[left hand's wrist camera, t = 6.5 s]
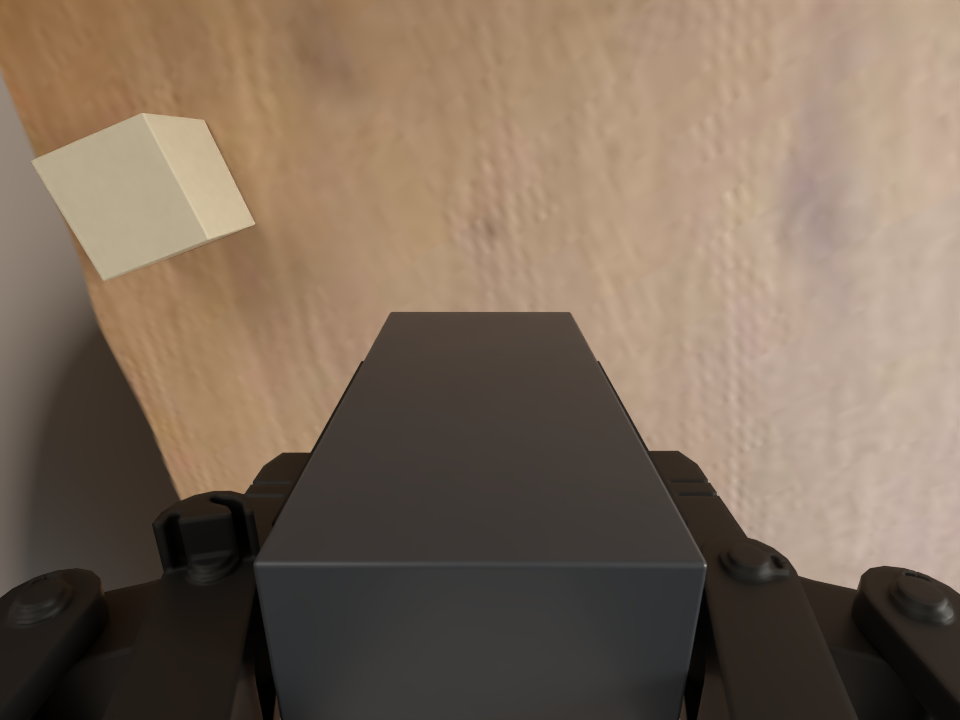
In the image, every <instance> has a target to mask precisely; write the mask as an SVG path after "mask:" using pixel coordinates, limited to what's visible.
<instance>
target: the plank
mask: <svg viewBox="0 0 960 720" xmlns="http://www.w3.org/2000/svg"><path fill="white" fill-rule="evenodd" d="M253 566H254V573H255V578H256V584H257V590H258V595H259V601H260V606H261V612H262V618H263V623H264V629H265V634H266V640H267V646H268V651H269V657H270V662H271V668H272V674H273V679H274V685H275V691H276V696H277V702H278V707H279V713H280V719H281V720H679V719H680V714H681V708H682V703H683V697H684V692H685V686H686V681H687V675H688V670H689V664H690V659H691V653H692V648H693V642H694V637H695V631H696V626H697V620H698V615H699V609H700V603H701V598H702V592H703V587H704V581H705V576H706V570H707V564H706V561H705V559H704V557H703V555H702V554H701V552H700V550H699V548H698V546H697V544H696V543H695V541H694V539H693V537H692V535H691V533H690V531H689V530H688V528H687V526H686V524H685V522H684V520H683V519H682V517H681V515H680V513H679V511H678V509H677V508H676V506H675V504H674V502H673V500H672V498H671V496H670V495H669V493H668V491H667V489H666V487H665V485H664V484H663V482H662V480H661V478H660V476H659V474H658V473H657V471H656V469H655V467H654V465H653V463H652V462H651V460H650V458H649V456H648V454H647V452H646V450H645V449H644V447H643V445H642V443H641V441H640V439H639V438H638V436H637V434H636V432H635V430H634V428H633V427H632V425H631V423H630V421H629V419H628V417H627V415H626V414H625V412H624V410H623V408H622V406H621V404H620V403H619V401H618V399H617V397H616V395H615V393H614V392H613V390H612V388H611V386H610V384H609V382H608V380H607V379H606V377H605V375H604V373H603V371H602V369H601V368H600V366H599V364H598V362H597V360H596V358H595V357H594V355H593V353H592V351H591V349H590V347H589V346H588V344H587V342H586V340H585V338H584V336H583V334H582V333H581V331H580V329H579V327H578V325H577V323H576V322H575V320H574V318H573V316H572V314H571V313H570V312H391V313H390V314H389V316H388V318H387V320H386V322H385V324H384V325H383V327H382V329H381V331H380V333H379V335H378V336H377V338H376V340H375V342H374V344H373V346H372V347H371V349H370V351H369V353H368V355H367V356H366V358H365V360H364V362H363V364H362V366H361V367H360V369H359V371H358V373H357V375H356V377H355V378H354V380H353V382H352V384H351V386H350V387H349V389H348V391H347V393H346V395H345V397H344V398H343V400H342V402H341V404H340V406H339V408H338V409H337V411H336V413H335V415H334V417H333V419H332V420H331V422H330V424H329V426H328V428H327V429H326V431H325V433H324V435H323V437H322V439H321V440H320V442H319V444H318V446H317V448H316V450H315V451H314V453H313V455H312V457H311V459H310V461H309V462H308V464H307V466H306V468H305V470H304V471H303V473H302V475H301V477H300V479H299V481H298V482H297V484H296V486H295V488H294V490H293V492H292V493H291V495H290V497H289V499H288V501H287V503H286V504H285V506H284V508H283V510H282V512H281V513H280V515H279V517H278V519H277V521H276V523H275V524H274V526H273V528H272V530H271V532H270V534H269V535H268V537H267V539H266V541H265V543H264V544H263V546H262V548H261V550H260V552H259V554H258V555H257V557H256V559H255V561H254V564H253Z"/></svg>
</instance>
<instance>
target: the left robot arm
mask: <svg viewBox="0 0 960 720" xmlns="http://www.w3.org/2000/svg"><path fill="white" fill-rule="evenodd" d="M363 362H364V361H361V363H360V365H359V367H358V368H357V370H356V372H355V374H354V376H353V377H352V379H351V381H350V383H349V385H348V386H347V388H346V390H345V392H344V394H343V395H342V397H341V399H340V401H339V403H338V404H337V406H336V408H335V410H334V412H333V413H332V415H331V417H330V419H329V421H328V422H327V424H326V426H325V428H324V430H323V431H322V433H321V435H320V437H319V439H318V440H317V442H316V444H315V446H314V448H313V449H312V451H311V453H282V454H280V455H279V456H277V457H276V458H274V459H273V460H272V461H270V462H269V463H267V464H266V465H264V466H263V468H262V469H261V471H260V472H259V473H258V475H257V476H256V478H255V479H254V481H253V485H250V487H249V488H248V490H247V491H246V493H245V494H241V493H237V492H233V491H212V492H207V493H203V494H198V495H194V496H191V497H189V498H187V499H184V500H182V501H179V502H177V503H175V504H174V505H172V506H171V507H169V508H168V509H166V510H165V511H163V512H162V513H161V514H160V515H159V516H158V517H157V519H156V520H155V521H154V522H153V524H152V526H153V530H154V534H155V538H156V542H157V546H158V550H159V554H160V558H161V562H162V566H163V570H164V573H163V575H162V578H161V579H158V580H155V581H151V582H148V583H144V584H139V585H135V586H130V587H125V588H121V589H116V590H112V591H108V592H104V590H103V587H102V583H101V580H100V578H99V577H98V576H97V575H96V574H95V573H93V572H92V571H90V570H84V569H78V568H75V569H66V570H58V571H54V572H51V573H47V574H43V575H40V576H38V577H35V578H33V579H31V580H29V581H27V582H25V583H23V584H21V585H19V586H17V587H15V588H13V589H12V590H10V591H9V592H7V593H6V594H5V595H3V596H2V597H1V598H0V720H280V713H279V707H278V702H277V696H276V691H275V685H274V679H273V674H272V668H271V662H270V657H269V651H268V646H267V640H266V634H265V629H264V623H263V618H262V612H261V606H260V601H259V595H258V590H257V584H256V578H255V573H254V566H253V564H254V561H255V559H256V557H257V555H258V554H259V552H260V550H261V548H262V546H263V544H264V543H265V541H266V539H267V537H268V535H269V534H270V532H271V530H272V528H273V526H274V524H275V523H276V521H277V519H278V517H279V515H280V513H281V512H282V510H283V508H284V506H285V504H286V503H287V501H288V499H289V497H290V495H291V493H292V492H293V490H294V488H295V486H296V484H297V482H298V481H299V479H300V477H301V475H302V473H303V471H304V470H305V468H306V466H307V464H308V462H309V461H310V459H311V457H312V455H313V453H314V451H315V450H316V448H317V446H318V444H319V442H320V440H321V439H322V437H323V435H324V433H325V431H326V429H327V428H328V426H329V424H330V422H331V420H332V419H333V417H334V415H335V413H336V411H337V409H338V408H339V406H340V404H341V402H342V400H343V398H344V397H345V395H346V393H347V391H348V389H349V387H350V386H351V384H352V382H353V380H354V378H355V377H356V375H357V373H358V371H359V369H360V367H361V366H362V364H363ZM597 362H598V364H599V366H600V368H601V369H602V371H603V373H604V375H605V377H606V379H607V380H608V382H609V384H610V386H611V388H612V390H613V392H614V393H615V395H616V397H617V399H618V401H619V403H620V404H621V406H622V408H623V410H624V412H625V414H626V415H627V417H628V419H629V421H630V423H631V425H632V427H633V428H634V430H635V432H636V434H637V436H638V438H639V439H640V441H641V443H642V445H643V447H644V449H645V450H646V452H647V454H648V456H649V458H650V460H651V462H652V463H653V465H654V467H655V469H656V471H657V473H658V474H659V476H660V478H661V480H662V482H663V484H664V485H665V487H666V489H667V491H668V493H669V495H670V496H671V498H672V500H673V502H674V504H675V506H676V508H677V509H678V511H679V513H680V515H681V517H682V519H683V520H684V522H685V524H686V526H687V528H688V530H689V531H690V533H691V535H692V537H693V539H694V541H695V543H696V544H697V546H698V548H699V550H700V552H701V554H702V555H703V557H704V559H705V561H706V564H707V570H706V576H705V581H704V587H703V592H702V598H701V603H700V609H699V615H698V620H697V626H696V631H695V637H694V642H693V648H692V653H691V659H690V664H689V670H688V675H687V681H686V686H685V692H684V697H683V703H682V708H681V714H680V720H960V594H959V593H957V592H956V591H955V590H953V589H952V588H951V587H949V586H947V585H945V584H943V583H941V582H939V581H937V580H935V579H933V578H931V577H930V576H928V575H925V574H922V573H919V572H915V571H913V570H909V569H905V568H898V567H890V566H881V567H875V568H870V569H868V570H867V571H866V572H865V573H864V574H863V575H862V576H861V579H860V582H859V585H858V588H857V590H855V589H851V588H846V587H841V586H837V585H832V584H828V583H823V582H819V581H814V580H811V579H807V578H804V577H800V576H798V574H797V572H796V570H795V569H794V567H793V566H792V565H791V563H790V562H789V560H788V559H787V558H786V557H784V556H783V555H782V554H781V553H779V552H778V551H777V550H775V549H774V548H772V547H770V546H768V545H766V544H764V543H762V542H759V541H757V540H754V539H750V538H747V536H746V535H745V533H744V532H743V530H742V529H741V527H740V526H739V524H738V523H737V521H736V520H735V519H734V517H733V516H732V514H731V513H730V511H729V510H728V508H727V507H726V505H725V504H724V503H723V501H722V500H721V498H720V497H719V496H717V492H716V491H715V489H714V488H713V486H712V485H711V484H710V483H708V479H707V478H706V476H705V475H704V473H703V472H702V470H701V469H700V468H699V466H698V465H697V464H696V463H695V462H693V461H692V460H690V459H689V458H688V457H686V456H685V455H683V454H682V453H680V452H679V451H649V450H648V448H647V447H646V445H645V443H644V441H643V439H642V438H641V436H640V434H639V432H638V430H637V429H636V427H635V425H634V423H633V421H632V420H631V418H630V416H629V414H628V412H627V411H626V409H625V407H624V405H623V403H622V402H621V400H620V398H619V396H618V394H617V393H616V391H615V389H614V387H613V385H612V384H611V382H610V380H609V378H608V376H607V375H606V373H605V371H604V369H603V368H602V366H601V364H600V362H599V361H597Z"/></svg>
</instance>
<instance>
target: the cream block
mask: <svg viewBox="0 0 960 720" xmlns="http://www.w3.org/2000/svg"><path fill="white" fill-rule="evenodd" d="M31 163H32V165H33V167H34V168H35V170H36V172H37V173H38V175H39V177H40V178H41V180H42V181H43V183H44V185H45V186H46V188H47V190H48V191H49V193H50V195H51V196H52V198H53V200H54V201H55V203H56V204H57V206H58V208H59V209H60V211H61V213H62V214H63V216H64V218H65V219H66V221H67V222H68V224H69V226H70V227H71V229H72V231H73V232H74V234H75V236H76V237H77V239H78V241H79V242H80V244H81V245H82V247H83V249H84V250H85V252H86V254H87V255H88V257H89V259H90V260H91V262H92V263H93V265H94V267H95V268H96V270H97V272H98V273H99V275H100V277H101V278H102V280H103V281H106V280H109V279H112V278H115V277H118V276H121V275H124V274H126V273H129V272H132V271H135V270H138V269H141V268H144V267H146V266H149V265H152V264H155V263H158V262H161V261H163V260H166V259H169V258H171V257H174V256H177V255H179V254H182V253H184V252H187V251H189V250H192V249H194V248H197V247H200V246H202V245H205V244H207V243H210V242H212V241H215V240H217V239H220V238H223V237H225V236H228V235H230V234H233V233H235V232H238V231H240V230H243V229H245V228H248V227H251V226H253V225H255V222H254V220H253V218H252V216H251V214H250V212H249V210H248V208H247V206H246V204H245V202H244V200H243V198H242V196H241V194H240V192H239V190H238V188H237V186H236V184H235V182H234V180H233V178H232V176H231V174H230V172H229V170H228V168H227V166H226V164H225V162H224V160H223V158H222V156H221V154H220V151H219V149H218V147H217V145H216V143H215V141H214V139H213V137H212V135H211V133H210V131H209V129H208V127H207V125H206V123H205V121H204V120H202V119H193V118H184V117H175V116H166V115H157V114H147V113H140V114H138V115H136V116H133V117H131V118H129V119H126V120H124V121H122V122H119V123H117V124H115V125H113V126H110V127H108V128H106V129H103V130H101V131H99V132H96V133H94V134H92V135H89V136H87V137H85V138H82V139H80V140H78V141H75V142H73V143H71V144H68V145H66V146H64V147H61V148H59V149H57V150H54V151H52V152H50V153H47V154H45V155H43V156H40V157H38V158H36V159H33V160H32V161H31Z"/></svg>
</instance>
